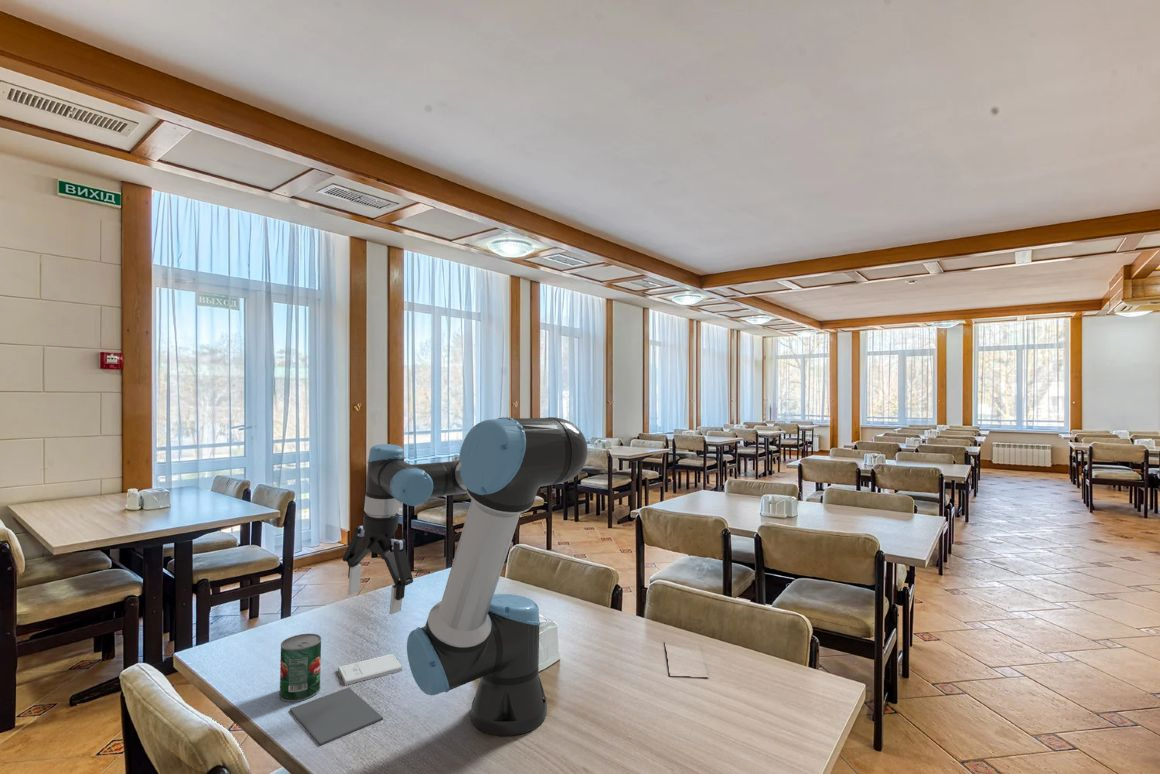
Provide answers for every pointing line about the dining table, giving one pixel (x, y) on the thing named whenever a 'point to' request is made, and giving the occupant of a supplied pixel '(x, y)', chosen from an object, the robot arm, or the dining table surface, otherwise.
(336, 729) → the mat
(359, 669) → the external hard drive
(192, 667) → the dining table surface
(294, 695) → the canned tomato
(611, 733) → the dining table surface
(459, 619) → the robot arm
